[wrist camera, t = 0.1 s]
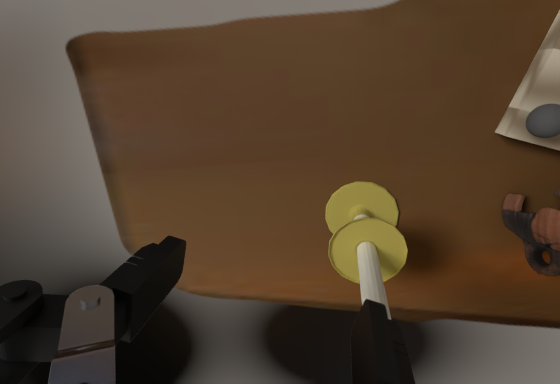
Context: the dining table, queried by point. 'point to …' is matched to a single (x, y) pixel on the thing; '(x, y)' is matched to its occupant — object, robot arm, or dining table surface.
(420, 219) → the dining table surface
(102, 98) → the dining table surface
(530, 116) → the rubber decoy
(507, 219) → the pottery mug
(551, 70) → the board
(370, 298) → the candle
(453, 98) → the dining table surface
